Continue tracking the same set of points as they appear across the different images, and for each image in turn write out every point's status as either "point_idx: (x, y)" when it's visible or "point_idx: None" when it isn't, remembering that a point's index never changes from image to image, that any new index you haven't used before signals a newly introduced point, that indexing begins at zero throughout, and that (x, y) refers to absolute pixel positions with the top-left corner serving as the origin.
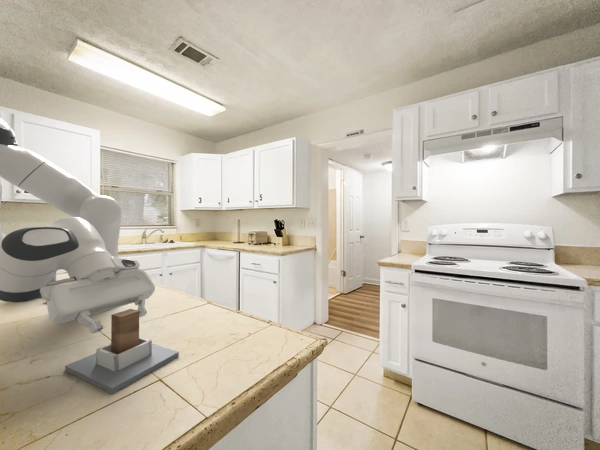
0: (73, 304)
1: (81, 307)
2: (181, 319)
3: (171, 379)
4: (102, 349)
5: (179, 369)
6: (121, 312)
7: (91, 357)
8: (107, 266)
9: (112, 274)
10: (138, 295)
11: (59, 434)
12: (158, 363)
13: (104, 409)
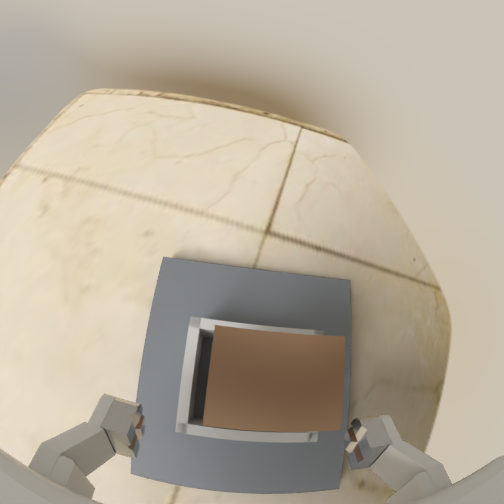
0: (497, 496)
1: (470, 487)
2: None
3: (257, 211)
4: None
5: (219, 220)
6: (286, 413)
7: (283, 479)
8: None
9: None
10: (58, 483)
11: (419, 269)
12: (231, 266)
13: (370, 257)
